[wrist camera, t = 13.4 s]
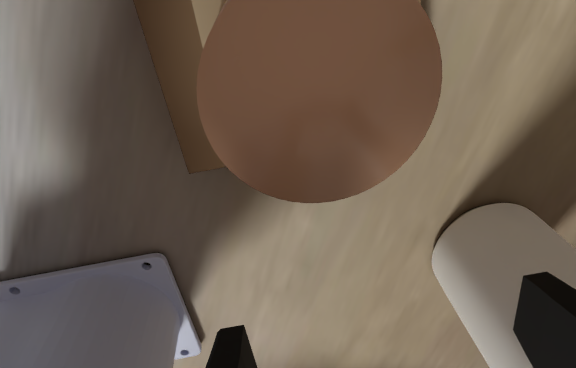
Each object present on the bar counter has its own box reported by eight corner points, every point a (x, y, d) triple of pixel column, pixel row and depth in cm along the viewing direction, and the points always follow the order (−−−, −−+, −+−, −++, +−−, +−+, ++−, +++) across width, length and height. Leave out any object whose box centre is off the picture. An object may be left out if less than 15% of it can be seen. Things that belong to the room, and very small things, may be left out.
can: (501, 176, 21) (751, 389, 11) (557, 239, 24) (804, 460, 13) (406, 252, 23) (539, 494, 13) (467, 302, 26) (620, 538, 15)
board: (194, 153, 19) (189, 173, 17) (114, -105, 14) (96, -114, 12) (403, 114, 19) (419, 130, 17) (399, -157, 14) (421, -174, 12)
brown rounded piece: (232, 142, 12) (227, 219, 8) (193, -26, 10) (163, -16, 6) (380, 116, 12) (437, 182, 8) (374, -56, 10) (448, -65, 6)
